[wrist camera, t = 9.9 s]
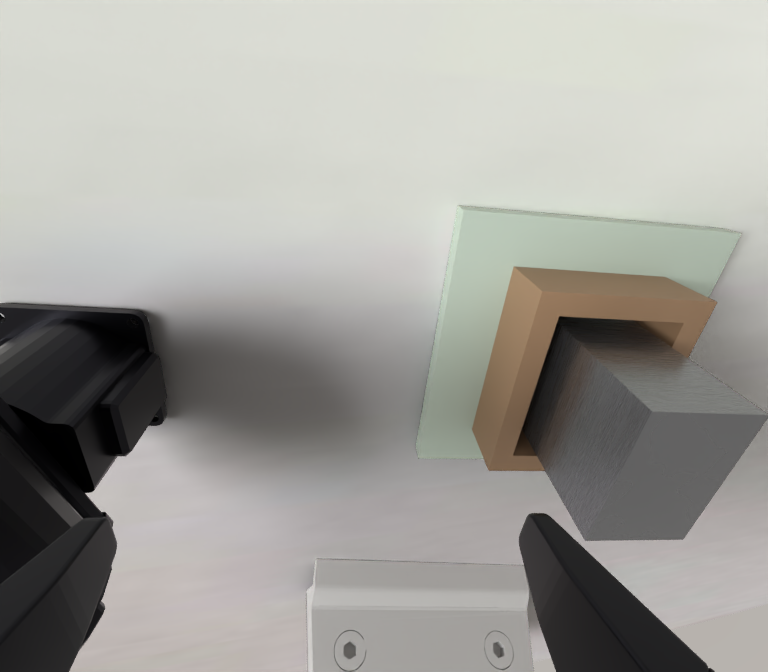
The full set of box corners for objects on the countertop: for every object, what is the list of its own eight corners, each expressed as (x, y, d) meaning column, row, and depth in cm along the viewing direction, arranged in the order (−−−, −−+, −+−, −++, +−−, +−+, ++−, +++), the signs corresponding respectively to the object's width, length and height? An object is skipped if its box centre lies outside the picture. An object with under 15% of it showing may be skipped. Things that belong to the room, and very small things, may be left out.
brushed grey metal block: (507, 404, 22) (584, 540, 15) (538, 303, 19) (652, 411, 12) (576, 407, 22) (683, 539, 15) (616, 308, 19) (769, 414, 12)
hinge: (528, 565, 31) (572, 751, 24) (503, 578, 34) (534, 745, 28) (311, 558, 28) (291, 765, 21) (307, 573, 32) (289, 756, 25)
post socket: (415, 446, 24) (427, 502, 20) (457, 205, 17) (485, 226, 14) (615, 448, 25) (658, 501, 22) (722, 228, 19) (809, 252, 15)
